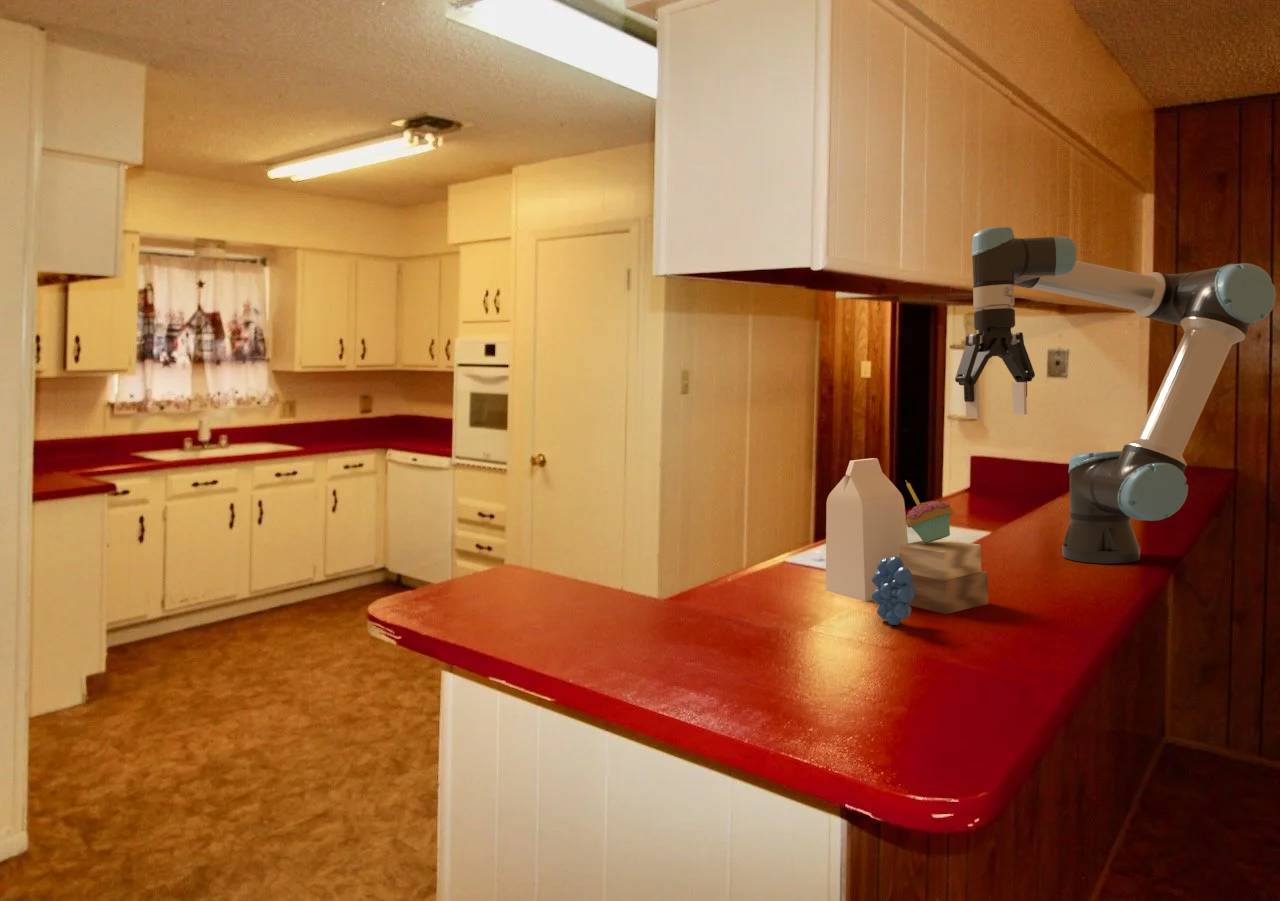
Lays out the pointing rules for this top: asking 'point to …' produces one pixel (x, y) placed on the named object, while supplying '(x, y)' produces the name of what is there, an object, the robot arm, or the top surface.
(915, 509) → the cupcake
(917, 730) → the top surface
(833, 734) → the top surface
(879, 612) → the grapes
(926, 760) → the top surface
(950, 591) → the block bottom
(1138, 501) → the robot arm
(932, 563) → the block top
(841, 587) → the milk
